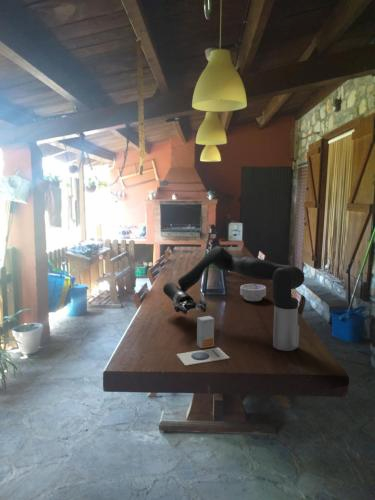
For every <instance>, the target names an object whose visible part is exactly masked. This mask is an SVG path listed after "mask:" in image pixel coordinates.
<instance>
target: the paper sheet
mask: <svg viewBox="0 0 375 500" xmlns="http://www.w3.org/2000/svg"><path fill="white" fill-rule="evenodd" d="M175 355H176V356H177V358H179V360H180V361H181V362H182V364H183V365H184V366H185V367H186V366H192V365H198V364H203V363H204V364H205V363H210V362H216V361H222V360H228V359H230V356H228V355H227V354H226V353H225V352H224V351H223V350H222V349H221V348H220V347H211V348H208V349H207V348H206V349H202V350H193V351H187V352H182V353H181V352H180V353H176V354H175Z"/></svg>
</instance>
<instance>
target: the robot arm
mask: <svg viewBox="0 0 375 500" xmlns="http://www.w3.org/2000/svg"><path fill="white" fill-rule="evenodd" d="M210 265H214V266H215V267H216V268H217V269H219V270H222V271H225V272H226V271H228V272H232V273H236V274H238V275H241V276H245V277H247V278H250V279H253V280H263V281H271V282H272V298H273V301H274V302H273V303H274V307H273V310H274V311H273V335H272V338H273V339H272V346H273V348H274V349H276V350H278V351H279V350H280V351H285V352H291V351H295V350H297V349H298V348H299V342H300V341H299V339H300V325H299V324H298V314H299V312H298V311H299V300H298V299H297V297H296V298H295V297H293V296H292V290H294V289H298V288H299V287H301V286H302V285H303V284H304V283H305V275H304V273H303V270H301V269H300V268H299V267H297V266H294V265H288V264H287V265H286V264H279V263H275V262H272V261H268V260H266V259H265V260H264V259H261V258H259V257H253V256H251V255H247V256H243V257H241V258H240V257H236V256H234V255H232V254H231V253H230V252H229V251H228V250H226V249H225V248H224V247H222V246H219V245H218V246H214V247H213V248H212V249H211V250H210V251H209V252H207V254H205V256H203V258H202V259H201V260H199V262H198V263H196V265H195V266H194V267H193V268H192V269H190V270H189V271H188V272H186V273H185V274H183V275H181V277H179V279H178V280H177V283H178V285H179V286H178V285H176V284H175V283H174V282H167V283H165V284H164V286H163V288H162V291H163V293H164V294H165V296H167V297H168V298H169V299H170V300H171V301H172V302H173V309H174V311H175V312H176V313H179V312H180V313H182V314H184V315H187V314H188V311H190V310H195V311H201V312H202V313H205V312H206V310H207V303H206V302H204V301H202V300H201V299H199V300H198V301H195V300H194V298H193V297H192V296H191V295H189V294H188V293H187V291H189V289H190V288H192V287H194V286H195V285H196V284H197V283H198V282H199V281H200V279H201V278H202V276H203V274H204V271H205V270H206V269H207V268H208V267H209V266H210ZM179 287H180V288H179Z"/></svg>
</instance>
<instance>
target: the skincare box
mask: <svg viewBox="0 0 375 500" xmlns="http://www.w3.org/2000/svg"><path fill="white" fill-rule="evenodd" d="M196 319H197V320H196V323H197V325H196V345H197V347H199V348H200V349H205V348H206V349H207V348H214V346H215V318H214V317H213V316H211V315H207V316H206V315H205V316H200V317H199V316H198V317H197V318H196Z"/></svg>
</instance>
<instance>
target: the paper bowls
mask: <svg viewBox="0 0 375 500" xmlns="http://www.w3.org/2000/svg"><path fill="white" fill-rule="evenodd" d="M239 293H240V295H241V296H242V297H243V299H244V300H245V301H247V302H260V301H262V300H263V297H266V296H267V286H265V285H263V284H259V283H247V284H242V285H240V290H239Z"/></svg>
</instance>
